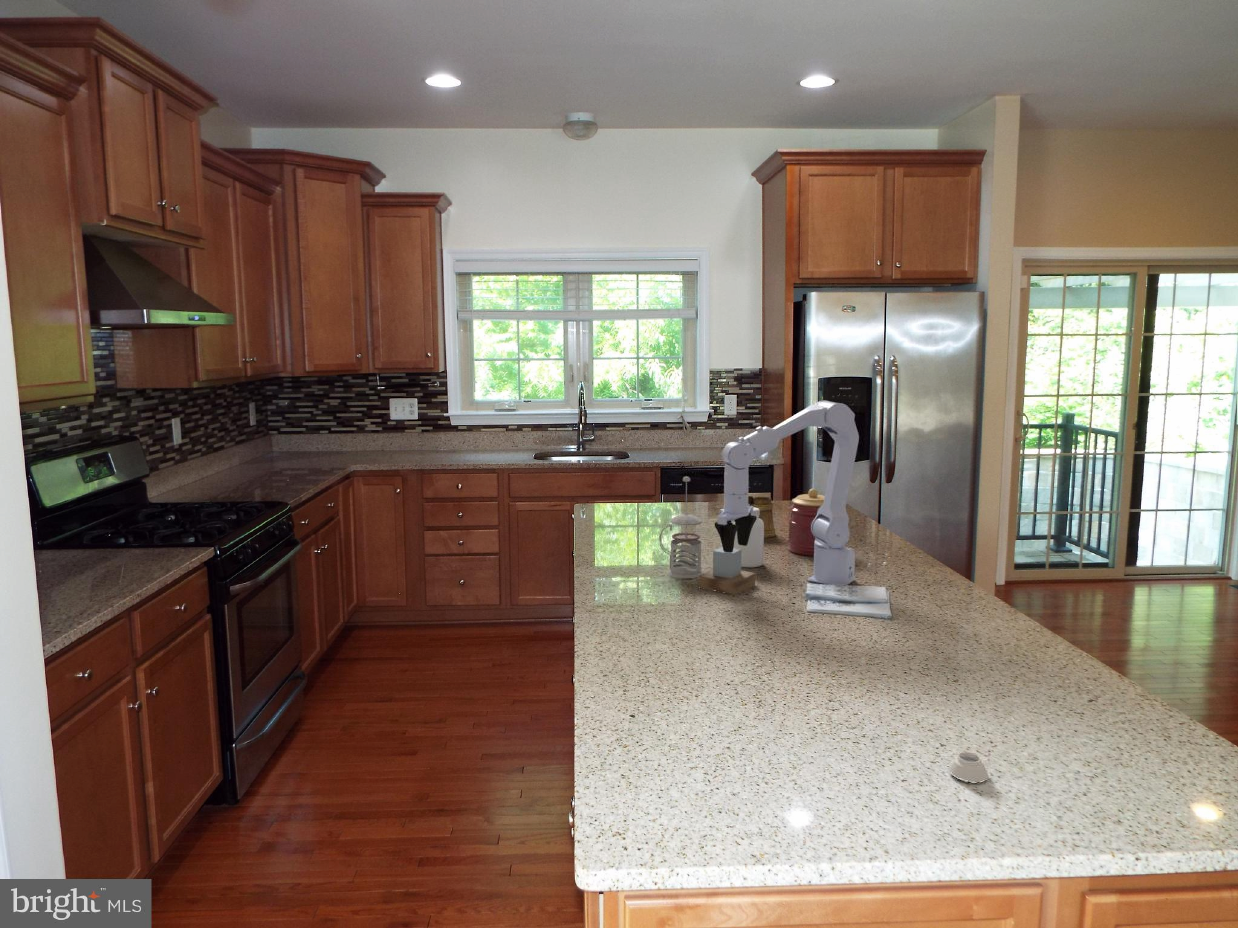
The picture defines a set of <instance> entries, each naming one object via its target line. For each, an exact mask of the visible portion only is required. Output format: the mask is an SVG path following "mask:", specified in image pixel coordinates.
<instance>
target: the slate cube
mask: <svg viewBox="0 0 1238 928" xmlns="http://www.w3.org/2000/svg"><path fill="white" fill-rule="evenodd" d="M741 552H742V550H741V549H735V548H733V552H732V553H730V552H724V551H723V547H722V546H721V547H719V548H717V549H714V550H713V551H712V570H713V575H714V576H720V577H725V578H731V579H732V578H734V577H736V576H738V575H740V574H741V571H742V567H741Z"/></svg>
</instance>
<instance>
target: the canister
mask: <svg viewBox="0 0 1238 928" xmlns="http://www.w3.org/2000/svg"><path fill="white" fill-rule="evenodd" d="M824 497H825V494H824V495H823V494H819V493H818V490H817V489H816V488H810V489H809V490H808V492H807V493H805V494H799V495H797V496H796V497H795V498H792V499H791V502H792V503H793V504H792V505H791V506H789V507H788V511H789V513H790V517H789V518H788V538H787V547H788V550H789V551H790V552H792V553H794V554H797V555H803V556H811V557H814V545H815V536H814V535H813V534H812V532H811V524H812V522H813V520H814V519H815V517H816V515H817V511H818V509H819V508H820V507H821V506H822V505H823V502H824Z"/></svg>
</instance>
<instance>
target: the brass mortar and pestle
mask: <svg viewBox="0 0 1238 928" xmlns="http://www.w3.org/2000/svg"><path fill="white" fill-rule="evenodd" d="M772 502H773V501H772V498H771V497H768V496H753V495H748V506H753V507H755V508H759V510H760V514H759V517H758V518H760V519H761V520H762V521H763V523H764V539H767V538H768V539H769V538H772V537H775V536H776V535H777V534H776V529H775V526H774V525H775V524H774V523H775V522H774V515H773V514H774V513H773V509H774V503H772Z"/></svg>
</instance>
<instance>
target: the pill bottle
mask: <svg viewBox="0 0 1238 928" xmlns="http://www.w3.org/2000/svg"><path fill="white" fill-rule="evenodd" d="M759 514H760V510H759V508H755V507H753V514H751V515H752V516H756V517H757V519H756V521H755V523H754V525H753V527H752V530H751V533H750V537H749V541H748V544H747V546H743V545H739V544H738V539H737V532H736V535H735V540H734V548H735V549H741V550H742V552H741V568H758V567H761V566H763V564H764V552H765V551H764V550H765V549H764V548H765V547H764V546H765V545H764V544H765V543H764V541H765V538H764V523H763V521H762V520H761V519H760V518H758V517H759ZM733 524H735V521H734V520H733Z"/></svg>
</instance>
